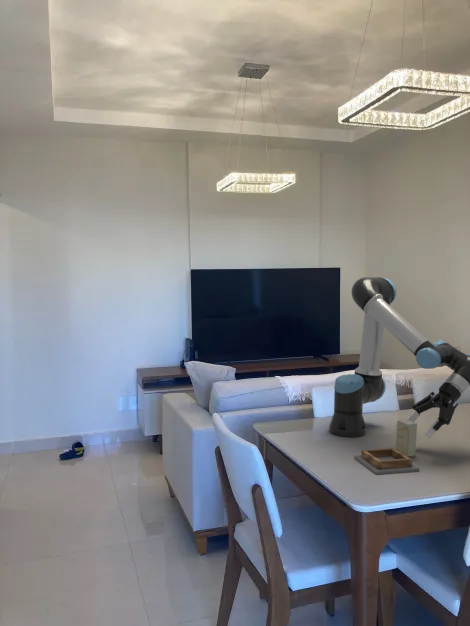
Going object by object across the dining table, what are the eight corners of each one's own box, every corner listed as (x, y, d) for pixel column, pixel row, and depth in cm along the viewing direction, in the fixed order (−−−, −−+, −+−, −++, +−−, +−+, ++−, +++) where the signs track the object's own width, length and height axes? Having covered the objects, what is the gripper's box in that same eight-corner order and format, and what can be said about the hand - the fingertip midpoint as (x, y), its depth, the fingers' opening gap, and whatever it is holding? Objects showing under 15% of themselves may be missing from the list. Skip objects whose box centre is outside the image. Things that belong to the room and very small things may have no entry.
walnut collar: (361, 457, 192) (361, 450, 192) (392, 454, 195) (393, 448, 195) (378, 469, 180) (378, 461, 180) (411, 466, 183) (412, 459, 183)
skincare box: (395, 452, 202) (396, 419, 201) (404, 450, 203) (405, 418, 202) (406, 457, 196) (407, 424, 195) (416, 455, 198) (417, 423, 197)
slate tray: (354, 458, 194) (354, 455, 194) (394, 455, 197) (394, 452, 197) (376, 474, 178) (376, 471, 178) (419, 471, 182) (419, 468, 182)
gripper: (482, 402, 190) (443, 447, 187) (439, 388, 214) (403, 427, 211) (469, 388, 188) (430, 433, 186) (427, 375, 212) (392, 415, 210)
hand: (416, 430), depth 199 cm, fingers open, 13 cm apart
